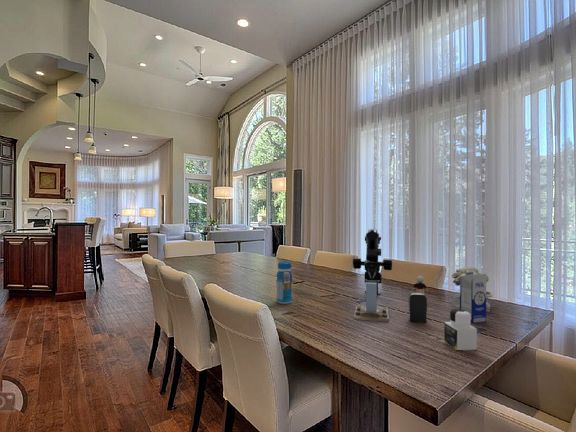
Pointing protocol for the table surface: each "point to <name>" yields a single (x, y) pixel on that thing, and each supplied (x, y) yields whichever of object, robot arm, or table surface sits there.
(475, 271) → the cherub figurine
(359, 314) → the keyhole track
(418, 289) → the grandmother figurine
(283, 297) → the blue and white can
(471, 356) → the table surface
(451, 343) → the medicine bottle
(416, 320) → the battery charger
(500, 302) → the table surface
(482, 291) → the milk carton
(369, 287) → the tall pale blue pillar
